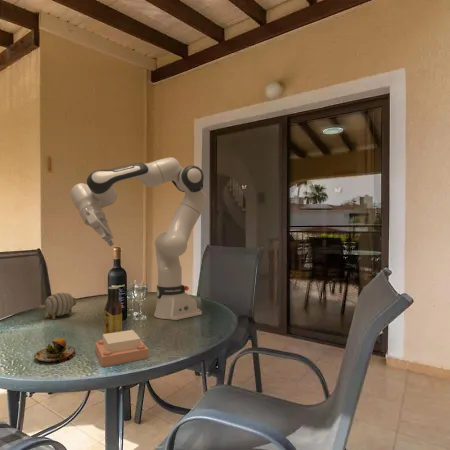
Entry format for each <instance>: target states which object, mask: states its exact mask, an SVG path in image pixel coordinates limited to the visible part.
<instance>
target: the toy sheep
mask: <svg viewBox="0 0 450 450" xmlns="http://www.w3.org/2000/svg"><path fill="white" fill-rule="evenodd" d="M76 304H77V300H76V297H73V296H72V294H71V293H68V292H57V293H53V294H52V295H50V296H48V297H47V298H46V300H45V301H44V304H43V305H42V304H41V305H39V306H38V309H39V310H43V309H44V310H45V312H47V318H48V319H50V318H51V317H52V318H51V319H52V320H56V317H58V316H59V317H62V316H64V315H67V314H68V316H69V317H71V316H72V315H73V313H72V312H73V311H72V310H73V307H75V305H76Z"/></svg>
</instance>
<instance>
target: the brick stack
mask: <svg viewBox="0 0 450 450" xmlns="http://www.w3.org/2000/svg"><path fill="white" fill-rule="evenodd" d="M94 344H95V346H94V347H95V353H96V356H97V359H98V360H99V364H100V365H101V368H107V367H111V366H115V365H121V364H126V363H131V362H134V361H135V362H136V361H142V360H146V359H148V358H149V348H148V347H147V346H146V345H145V343H144V342H143V341H142V340H141V337H139V335H138V334H137V333H136V332H135V330H134V329H130V330H129V329H128V330H122V332H115V333H108V334H104V333H103V334H102V339H98V341H95V343H94Z"/></svg>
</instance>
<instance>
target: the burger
mask: <svg viewBox="0 0 450 450" xmlns="http://www.w3.org/2000/svg"><path fill="white" fill-rule="evenodd" d="M64 333H65V332H64ZM64 333H62V335H64ZM75 355H76V348H75V347H73V346H70V345H67V341H66V339H64V338H63V337H61V338H55V339H53V340H52V345H51V344H50V343H48V345H47V346H46V348H44V349H41V350H39V351H37V352H35V354H34V356H33V357H34V359H36V360H38V361H41V362H59V364H61V363H65V362H67V359H68V358H69V359H70V360H72V359H73V358H74V357H75Z"/></svg>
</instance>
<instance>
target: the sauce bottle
mask: <svg viewBox="0 0 450 450" xmlns="http://www.w3.org/2000/svg"><path fill="white" fill-rule="evenodd" d="M107 294H108V295H107V300H106V304H105V306H104V313H103V315H104V317H103V334H108V333H115V332H122V331H123V330H122V329H123V312H122V311H123V304H122V302H121V301H120V286H109V287H107Z"/></svg>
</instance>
